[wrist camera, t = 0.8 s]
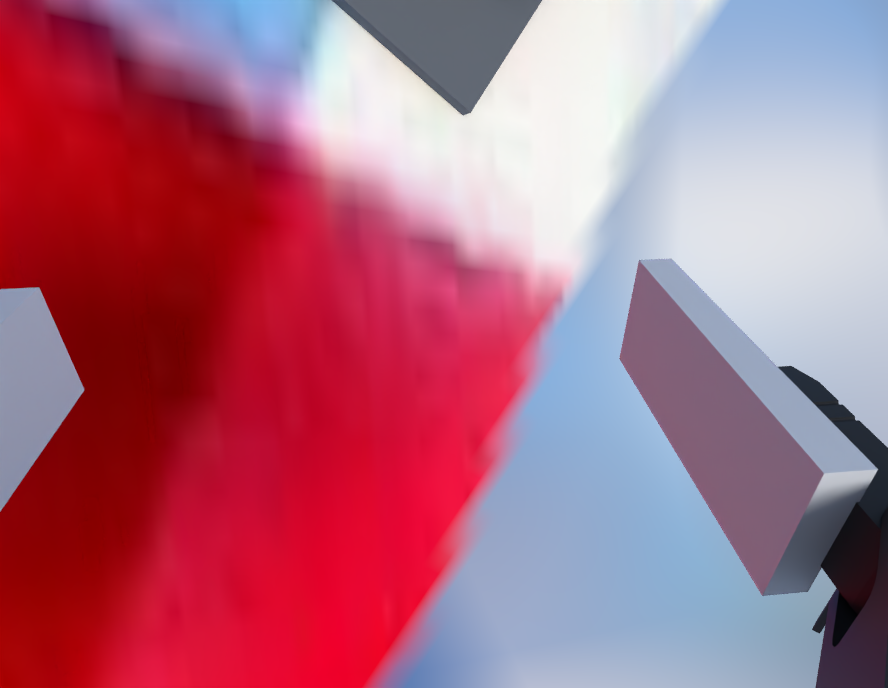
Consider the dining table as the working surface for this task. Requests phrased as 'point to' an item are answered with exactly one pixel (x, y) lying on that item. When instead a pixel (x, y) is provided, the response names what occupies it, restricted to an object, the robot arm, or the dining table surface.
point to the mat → (447, 39)
